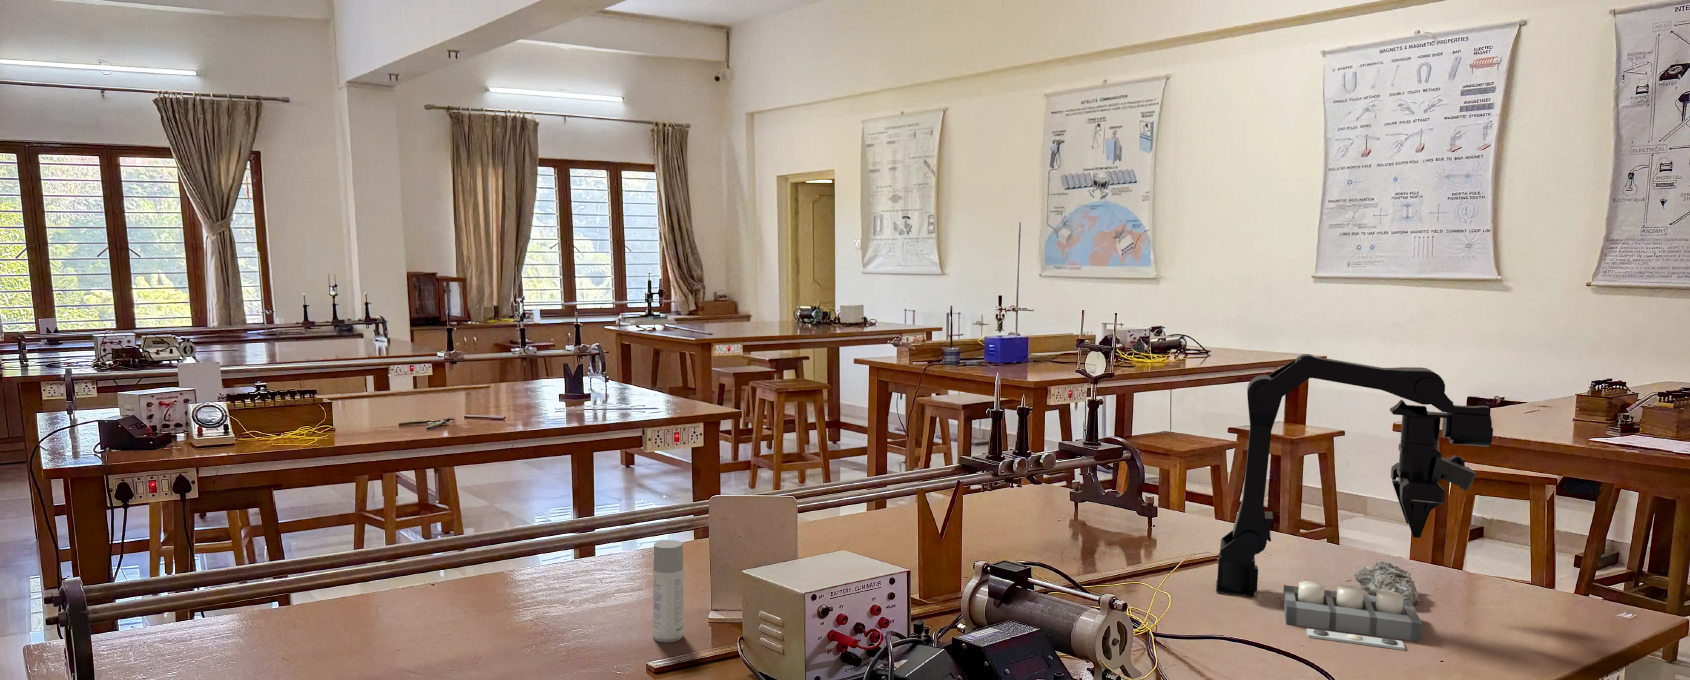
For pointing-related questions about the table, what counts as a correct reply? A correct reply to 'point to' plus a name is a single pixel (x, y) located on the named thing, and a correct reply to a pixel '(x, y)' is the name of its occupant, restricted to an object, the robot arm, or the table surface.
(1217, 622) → the table surface
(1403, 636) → the button board
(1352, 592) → the button middle
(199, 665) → the table surface
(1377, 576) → the mineral specimen
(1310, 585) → the button left
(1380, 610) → the button right
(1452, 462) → the robot arm
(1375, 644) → the card
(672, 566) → the container
